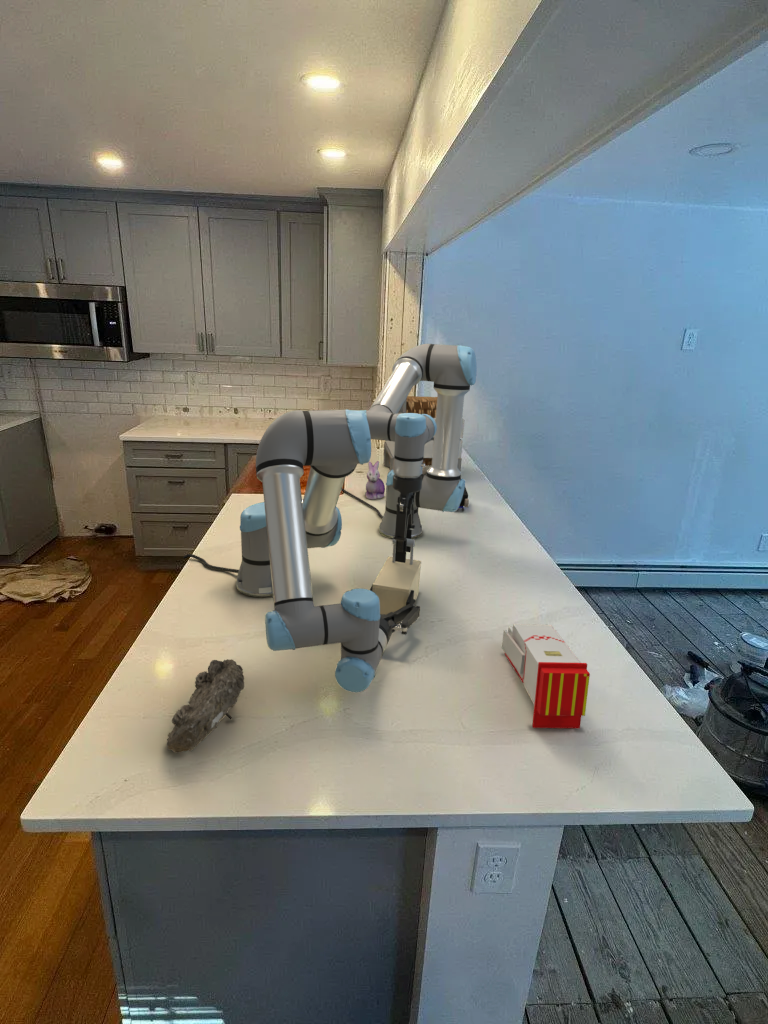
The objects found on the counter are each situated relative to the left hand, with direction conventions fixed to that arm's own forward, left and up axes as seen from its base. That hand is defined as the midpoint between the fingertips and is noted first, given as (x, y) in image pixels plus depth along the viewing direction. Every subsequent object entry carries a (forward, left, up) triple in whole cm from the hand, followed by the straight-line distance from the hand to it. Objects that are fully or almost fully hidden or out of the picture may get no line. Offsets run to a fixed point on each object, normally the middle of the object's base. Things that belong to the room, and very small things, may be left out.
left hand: (392, 592), depth 145 cm
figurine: (-28, +93, -7) cm, 97 cm away
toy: (+36, -20, -7) cm, 42 cm away
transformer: (-16, +136, -7) cm, 137 cm away
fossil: (-25, -48, -7) cm, 54 cm away
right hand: (0, +12, +5) cm, 13 cm away
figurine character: (+8, +92, -7) cm, 92 cm away
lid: (0, +6, +2) cm, 6 cm away
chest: (0, +5, -7) cm, 9 cm away
